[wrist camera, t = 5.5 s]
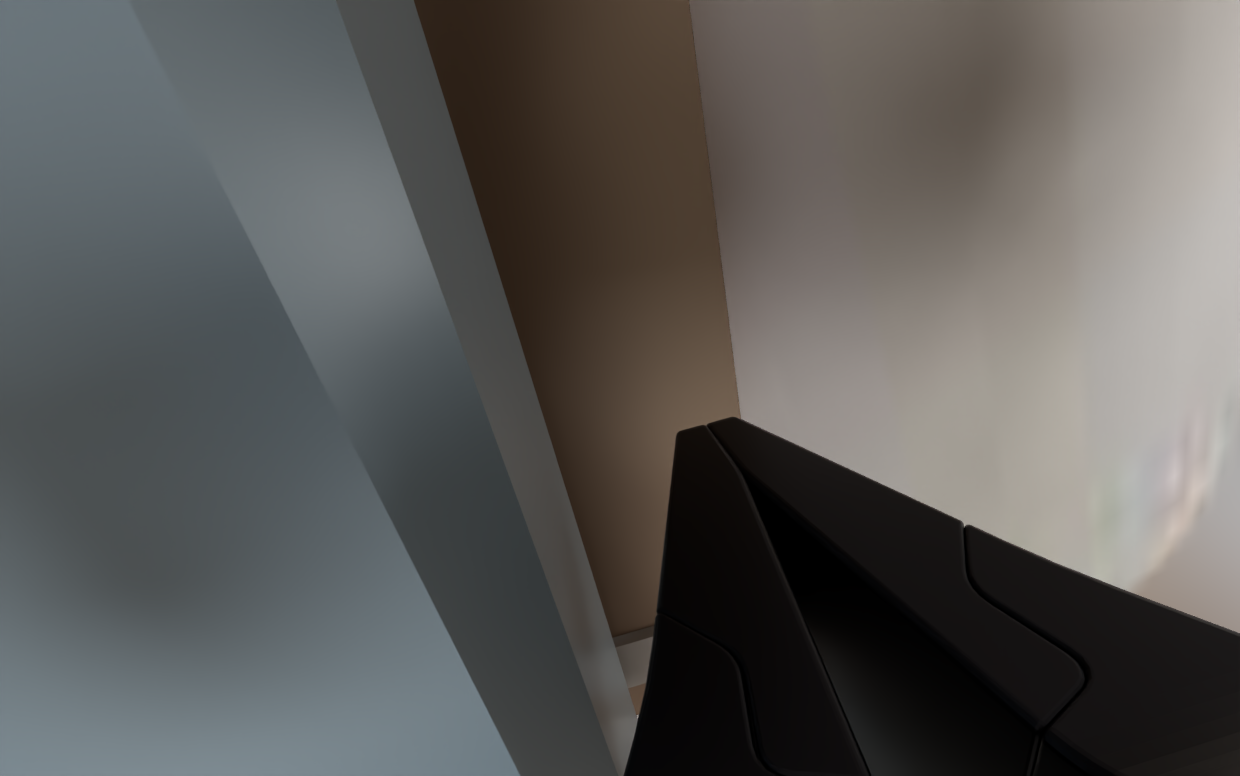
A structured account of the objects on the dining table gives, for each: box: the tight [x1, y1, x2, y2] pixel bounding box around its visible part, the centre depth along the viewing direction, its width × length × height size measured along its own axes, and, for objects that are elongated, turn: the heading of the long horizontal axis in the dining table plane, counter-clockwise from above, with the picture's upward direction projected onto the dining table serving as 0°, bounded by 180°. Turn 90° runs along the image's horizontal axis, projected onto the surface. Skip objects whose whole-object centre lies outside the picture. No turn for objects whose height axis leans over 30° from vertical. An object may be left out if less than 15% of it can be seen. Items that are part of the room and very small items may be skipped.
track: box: [414, 0, 741, 715], centre depth 12 cm, size 20×22×1 cm
